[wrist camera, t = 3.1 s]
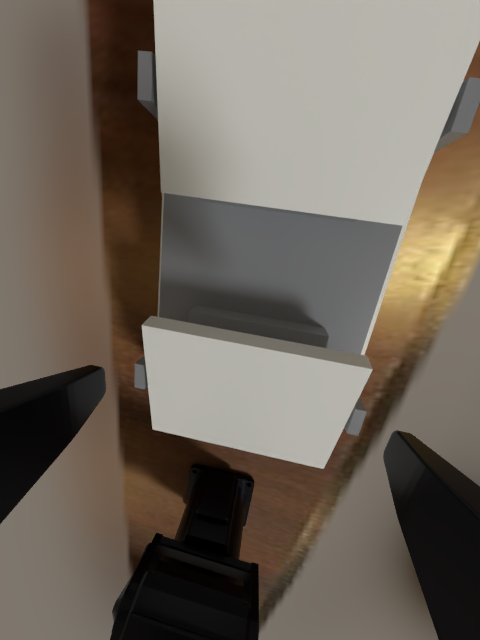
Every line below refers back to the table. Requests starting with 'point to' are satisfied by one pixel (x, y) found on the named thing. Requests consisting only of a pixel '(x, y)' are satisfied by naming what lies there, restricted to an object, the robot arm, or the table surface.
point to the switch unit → (279, 260)
